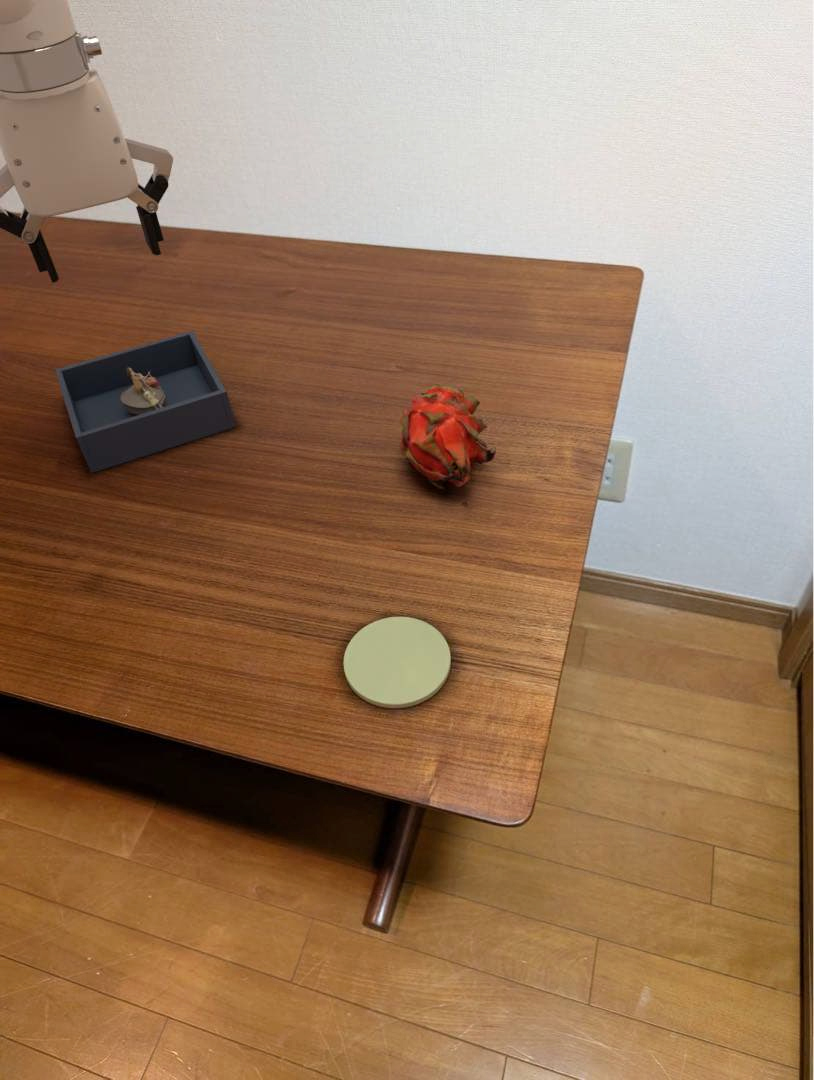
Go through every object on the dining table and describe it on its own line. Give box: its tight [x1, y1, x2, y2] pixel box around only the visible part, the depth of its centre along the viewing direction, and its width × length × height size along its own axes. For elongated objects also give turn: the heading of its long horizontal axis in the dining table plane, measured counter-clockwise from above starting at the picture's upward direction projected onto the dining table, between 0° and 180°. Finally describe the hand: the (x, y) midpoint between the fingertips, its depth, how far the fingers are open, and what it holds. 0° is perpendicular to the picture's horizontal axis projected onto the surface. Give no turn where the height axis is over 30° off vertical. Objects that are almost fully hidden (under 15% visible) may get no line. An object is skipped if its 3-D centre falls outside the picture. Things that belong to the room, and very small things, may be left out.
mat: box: [343, 616, 452, 709], centre depth 65 cm, size 8×8×1 cm
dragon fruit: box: [399, 383, 497, 491], centre depth 79 cm, size 8×8×12 cm
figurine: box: [120, 367, 166, 415], centre depth 87 cm, size 5×4×6 cm
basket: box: [54, 330, 236, 474], centre depth 88 cm, size 15×13×5 cm
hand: (104, 262), depth 79 cm, fingers open, 9 cm apart
